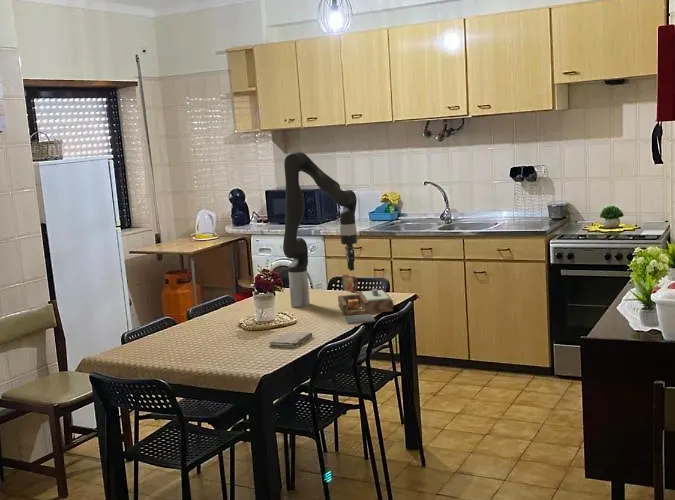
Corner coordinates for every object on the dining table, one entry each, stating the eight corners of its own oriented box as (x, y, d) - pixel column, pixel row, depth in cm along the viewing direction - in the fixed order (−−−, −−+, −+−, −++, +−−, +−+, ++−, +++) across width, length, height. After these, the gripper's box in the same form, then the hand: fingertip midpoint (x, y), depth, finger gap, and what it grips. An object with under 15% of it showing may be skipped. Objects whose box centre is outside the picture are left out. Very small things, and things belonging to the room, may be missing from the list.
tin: (341, 288, 413) (340, 273, 411) (346, 288, 414) (345, 272, 413) (353, 293, 399) (352, 277, 398) (359, 292, 400) (358, 276, 399)
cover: (367, 301, 353) (367, 294, 353) (361, 293, 372) (361, 286, 371) (389, 299, 354) (388, 292, 354) (382, 291, 373) (381, 285, 372)
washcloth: (267, 348, 308) (267, 341, 307) (287, 336, 324) (286, 329, 324) (294, 350, 303) (294, 342, 303) (313, 337, 320) (312, 330, 319)
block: (349, 311, 360) (349, 301, 360) (348, 309, 365) (347, 299, 364) (359, 310, 361) (358, 300, 360) (357, 308, 365) (357, 298, 365)
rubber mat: (348, 324, 336) (348, 322, 336) (345, 317, 347) (345, 316, 347) (375, 321, 337) (375, 320, 337) (371, 315, 349) (371, 314, 349)
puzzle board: (343, 315, 352) (343, 305, 351) (338, 305, 373) (337, 295, 372) (393, 310, 354) (392, 300, 353) (385, 301, 375) (384, 291, 374)
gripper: (338, 232, 364) (341, 267, 367) (342, 236, 350) (345, 272, 352) (354, 230, 365) (356, 266, 367) (358, 234, 351) (361, 271, 353)
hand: (351, 269), depth 360 cm, fingers open, 4 cm apart
